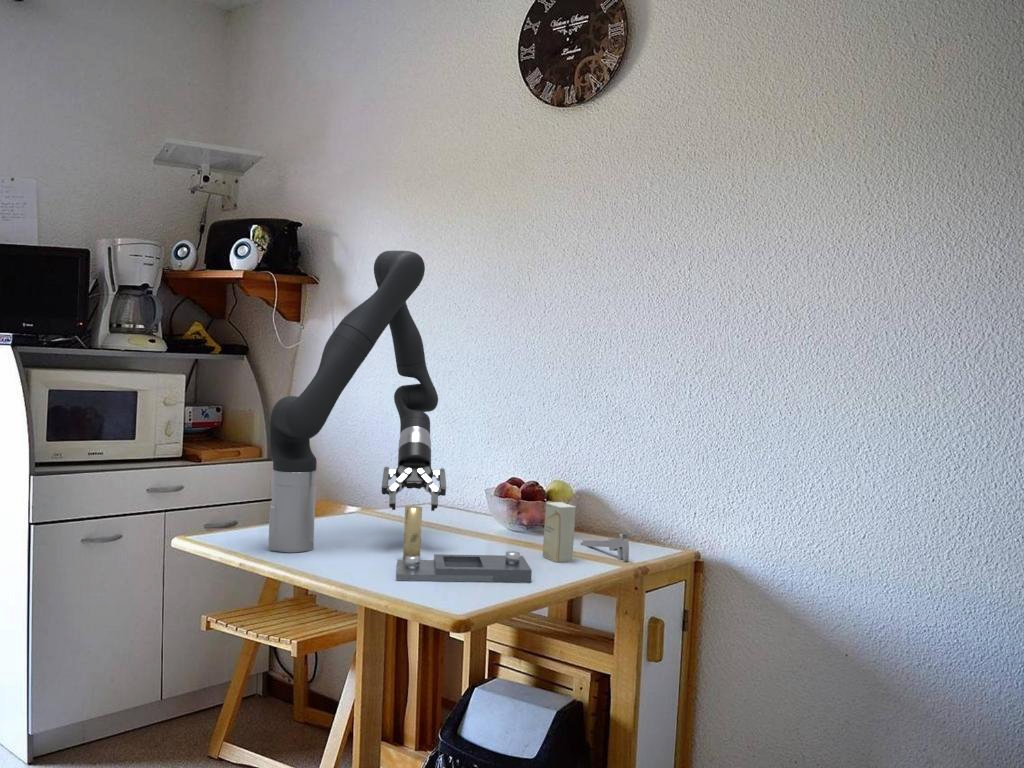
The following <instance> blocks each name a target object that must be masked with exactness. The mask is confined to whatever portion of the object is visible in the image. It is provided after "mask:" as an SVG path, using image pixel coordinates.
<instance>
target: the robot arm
mask: <svg viewBox="0 0 1024 768" xmlns="http://www.w3.org/2000/svg"><path fill="white" fill-rule="evenodd" d="M425 267H426V266H425V262H424V259H423V257H422V256H421V255H420V254H419V253H416V252H415V251H410V250H385V251H383V252H381V253H379V255H378V256H377V257H376V258H375V260H374V263H373V274H374V279H375V283H376V286H377V289H376V290H375V292H374V293H373V294H372V295H370V297H367V299H366V300H364V301H363V302H362V303H360V304H359V305H357V306H356V307H355V308H353V309H352V310H351V311H350V312H348V313H347V314H346V315H345V316H344V317H343V318H342V320H340V322H339V323H338V325H337V326H336V327H335V329H333V332H332V333H331V334H330V336H329V337H328V339H327V341H326V343H325V345H324V348H323V350H322V354H321V359H320V362H319V366H318V369H317V371H316V373H315V374H314V376H313V378H312V379H311V381H310V383H308V384H307V386H306V387H305V389H304V390H303V391H302V392H301V393H300V394H299V396H296V395H295V396H294V395H290V396H284V397H281V398H280V399H279V400H277V402H276V403H275V404H274V406H273V408H272V411H271V415H270V423H269V453H270V456H271V457H270V458H271V461H272V483H271V484H272V486H271V487H272V488H271V489H272V490H271V492H272V493H271V505H270V507H269V517H268V518H269V522H268V523H269V524H268V546H267V551H274V552H280V553H301V552H302V553H303V552H308V551H311V550H313V549H314V541H315V538H314V537H315V536H314V535H315V519H316V518H315V513H316V512H315V511H316V492H317V457H316V456H315V455H314V453H313V452H312V449H311V442H310V441H311V440H310V439H312V438H314V437H316V436H317V435H318V433H320V432H321V430H322V429H323V428H324V425H325V423H327V420H328V419H329V416H330V415H331V412H332V411H333V410H334V407H335V406H336V403H337V401H338V400H339V397H340V396H341V395H342V392H343V391H344V390H345V389H346V387H347V386H348V384H349V383H350V381H351V380H352V378H354V375H355V374H356V372H357V371H358V370H359V368H360V367H361V365H362V364H363V362H364V361H365V360H366V359H367V357H368V356H369V354H370V352H371V351H372V349H373V348H374V346H375V345H376V344H377V341H379V338H380V337H381V335H382V334H383V332H384V331H385V330H386V329H387V327H388V326H389V329H390V333H391V339H392V343H393V350H394V351H393V352H394V356H395V357H394V358H395V364H396V370H397V373H398V375H399V376H401V377H405V378H412V379H415V380H417V381H418V382H419V383H415V384H404V385H401V386H398V387H397V388H396V390H395V392H394V395H393V401H394V406H395V407H396V411H397V413H398V415H399V416H398V417H399V421H400V425H399V426H400V427H399V428H400V429H399V430H400V431H399V439H398V448H397V449H398V451H397V452H398V454H397V455H398V456H397V467H396V469H390V467H389V466H385V467H384V468H383V471H382V472H383V473H382V481H381V494H382V495H388V500H389V501H388V507H389V508H391V511H395V510H396V506H397V505H396V502H397V500H396V499H397V497H396V496H397V494H398V493H399V492H402V490H404V489H405V488H406V489H407V490H409V489H417V490H418V489H419V490H420V489H422V488H423V490H424V491H425V492H427V493H429V495H431V497H430V498H431V500H430V501H431V502H430V505H431V506H430V508H431V509H430V511H431V512H435V510H436V509H438V507H439V497H440V496H442V497H443V496H446V494H447V493H446V492H447V479H446V470H445V468H444V467H441V468H440V469H439V470H433V469H432V441H431V419H430V417H429V415H428V413H429V412H432V411H435V410H436V408H438V407H437V406H438V404H439V396H438V392H437V390H436V387H435V385H434V383H433V381H432V378H431V376H430V373H429V371H428V367H427V363H426V355H425V348H424V347H425V346H424V342H423V339H422V335H421V333H420V330H419V328H418V327H417V324H416V322H415V321H414V319H413V317H412V315H411V313H410V310H409V307H408V305H407V301H408V300H409V299H410V297H411V295H413V293H414V292H415V291H416V290H417V289H418V287H419V286H420V285H421V283H422V281H423V278H424V276H425V269H426V268H425ZM393 477H396V480H395V481H394V483H393V484H391V486H390V485H389V481H390V480H392V479H393ZM433 477H434V478H435V479H436V481H437V482H439V487H437V485H435V483H434V482H433V480H432V478H433Z"/></svg>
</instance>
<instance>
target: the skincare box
mask: <svg viewBox="0 0 1024 768" xmlns="http://www.w3.org/2000/svg"><path fill="white" fill-rule="evenodd" d="M576 510H577V506H575V505H571V504H568V503H565V502H563V501H560V502H559V501H557V502H554V501H553V502H552V501H551V502H547V501H546V502H545V514H544V515H545V516H544V527H543V528H544V529H543V544H542V545H543V546H542V557H544V558H546V559H548V560H550V561H552V562H554V563H566V562H573V555H574V554H573V553H574V543H575V542H574V540H575V525H576Z"/></svg>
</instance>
